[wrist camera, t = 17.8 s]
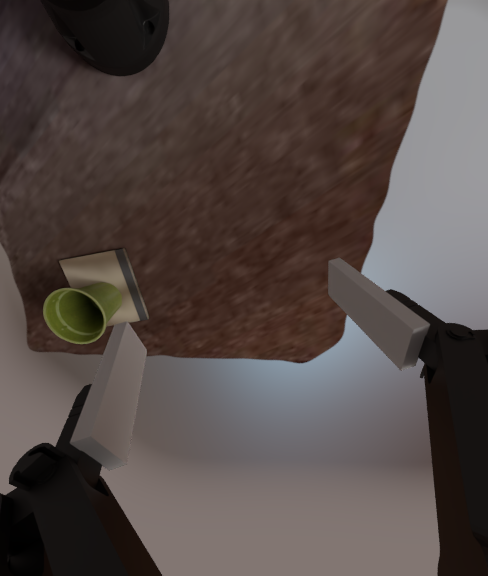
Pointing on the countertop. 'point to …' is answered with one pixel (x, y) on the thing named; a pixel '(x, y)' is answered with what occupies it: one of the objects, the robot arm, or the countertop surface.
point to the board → (109, 281)
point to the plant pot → (81, 311)
